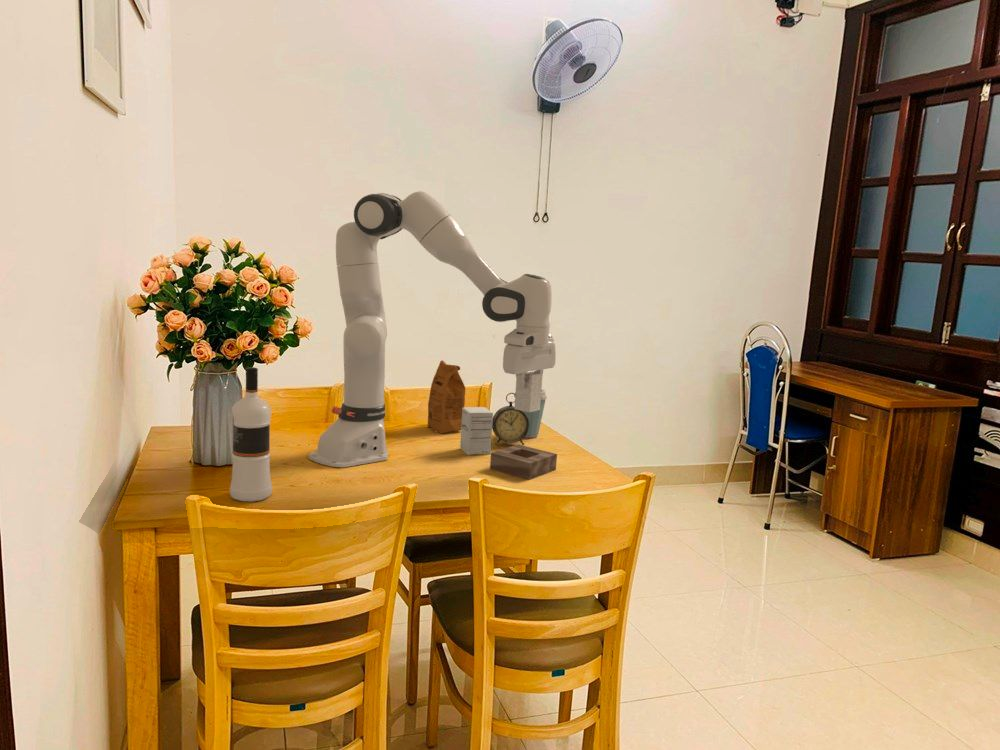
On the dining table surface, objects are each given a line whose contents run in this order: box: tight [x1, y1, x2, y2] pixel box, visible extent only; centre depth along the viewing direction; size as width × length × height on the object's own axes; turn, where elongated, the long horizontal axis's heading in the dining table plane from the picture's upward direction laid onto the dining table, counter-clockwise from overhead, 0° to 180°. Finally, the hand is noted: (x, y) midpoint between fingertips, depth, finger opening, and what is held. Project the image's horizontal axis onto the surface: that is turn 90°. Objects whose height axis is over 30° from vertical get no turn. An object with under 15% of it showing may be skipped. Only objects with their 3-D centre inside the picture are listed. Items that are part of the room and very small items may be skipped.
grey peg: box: [514, 371, 544, 412], centre depth 204 cm, size 5×5×10 cm
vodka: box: [229, 366, 273, 503], centre depth 172 cm, size 9×9×30 cm
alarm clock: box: [492, 392, 529, 446], centre depth 232 cm, size 11×5×16 cm, turn 102°
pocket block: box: [489, 443, 558, 481], centre depth 208 cm, size 13×13×4 cm
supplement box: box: [459, 406, 494, 456], centre depth 222 cm, size 7×7×13 cm
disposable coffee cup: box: [513, 389, 548, 439], centre depth 244 cm, size 11×11×15 cm
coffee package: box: [427, 359, 466, 434], centre depth 245 cm, size 10×12×22 cm
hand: (528, 387), depth 204 cm, fingers closed on grey peg, 5 cm apart
